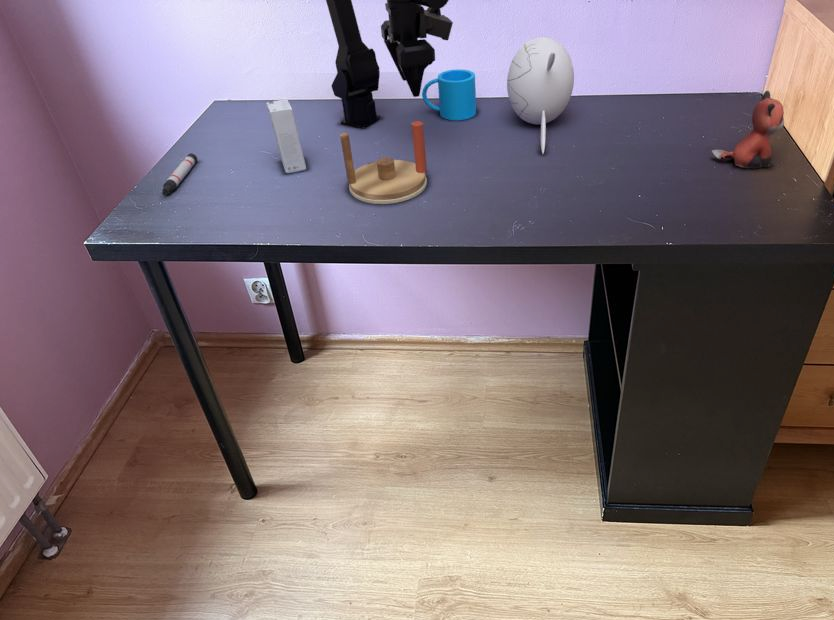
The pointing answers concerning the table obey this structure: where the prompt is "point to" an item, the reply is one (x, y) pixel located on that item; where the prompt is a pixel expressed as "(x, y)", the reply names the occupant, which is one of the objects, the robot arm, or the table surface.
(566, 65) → the cracked white egg
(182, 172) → the marker
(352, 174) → the wooden peg board
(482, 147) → the table surface
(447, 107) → the mug
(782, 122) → the stuffed fox
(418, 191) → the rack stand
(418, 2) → the robot arm
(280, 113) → the cosmetic box
